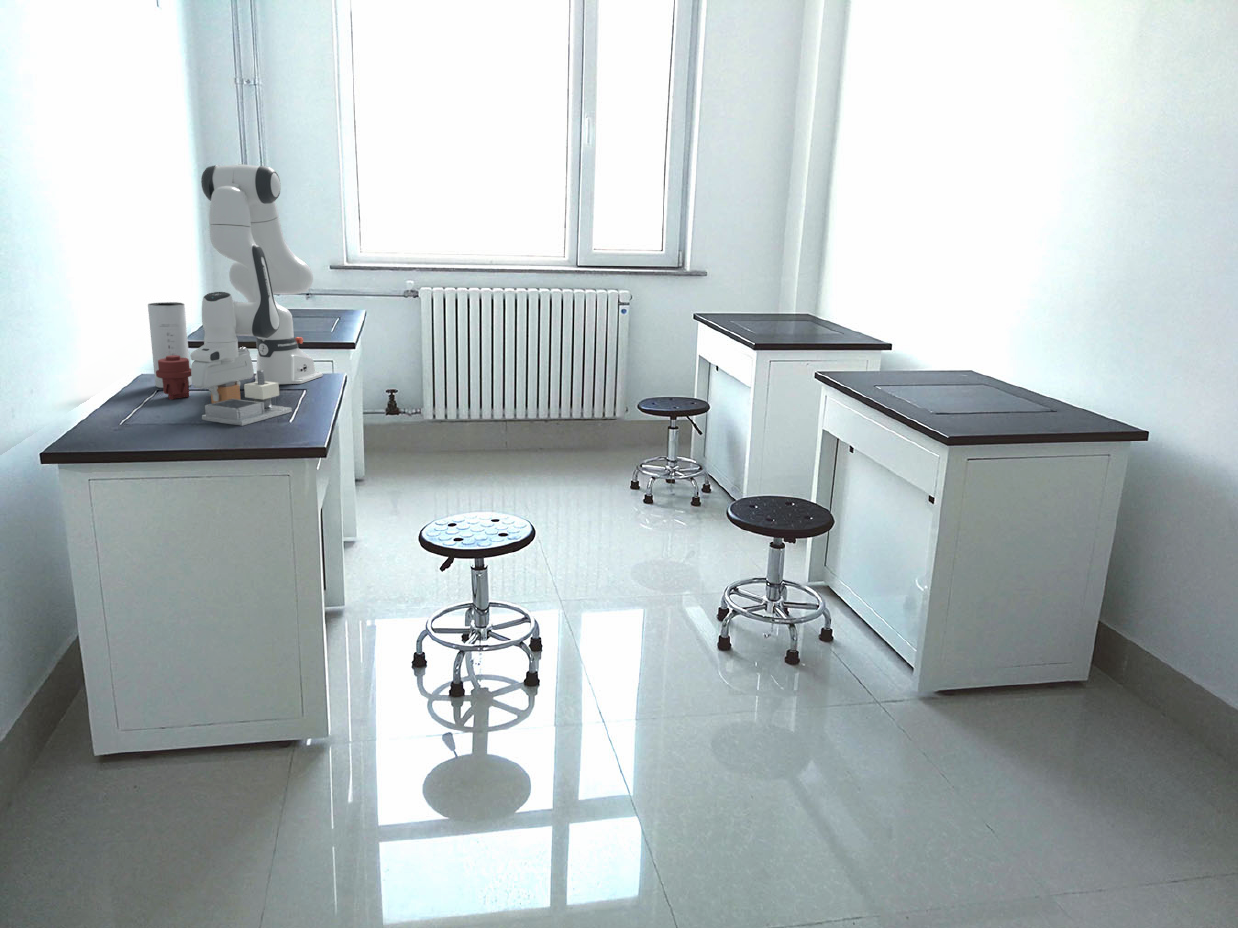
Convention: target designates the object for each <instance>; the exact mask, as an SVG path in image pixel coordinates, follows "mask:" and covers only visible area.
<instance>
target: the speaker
mask: <svg viewBox="0 0 1238 928" xmlns="http://www.w3.org/2000/svg"><path fill="white" fill-rule="evenodd" d="M147 309H148V321H149V329H150V330H149V331H150V343H151V344H150V345H151V353H152V363H153V373H154V374H153V375H154V384H155V387H156V388H157V389H163V381H162V378H158V377H157V376H156V371H157V370H159V367H158V360H160V359H164V358H166V356H170V355H179V356H180V358H187V359H189V360H190V353H189V352H190V351H189V342H188V333H187V331H188V330H187V328H188V327H187V319H186V307H185V303H183V302H178V301H177V302H175V301H173V302H171V301H170V302H169V301H168V302H152V303H148V304H147ZM190 364H191V363H190V361H189V366H190V367H191V365H190ZM188 381H189V387H190V386H191V385H192V377H191V376H190V377H188Z"/></svg>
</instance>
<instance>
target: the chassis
mask: <svg viewBox="0 0 1238 928" xmlns="http://www.w3.org/2000/svg"><path fill="white" fill-rule="evenodd" d="M256 371H257V370H256ZM257 378H258V385H264V384H265V379H264V371H263V370H259V371H257ZM292 409H293V408H292V407H290V406H289V407H288V406H281V405H273V404H272V397H271V398H267V399H255V398H253V400H247V399H241V400H240V399H229V400H225V401H220V402H216V403H212V402H211V403H208V404H205V405H204V411H205V414H201V420H202V421H208V422H214V423H221V424H228V425H235V426H241V427H243V426H247V425H251V424H253V423H257V422H262V421H264V420H268V419H271V418H275V417H279V416H282V415H285V414H289V413H292V412H293V410H292Z"/></svg>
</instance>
